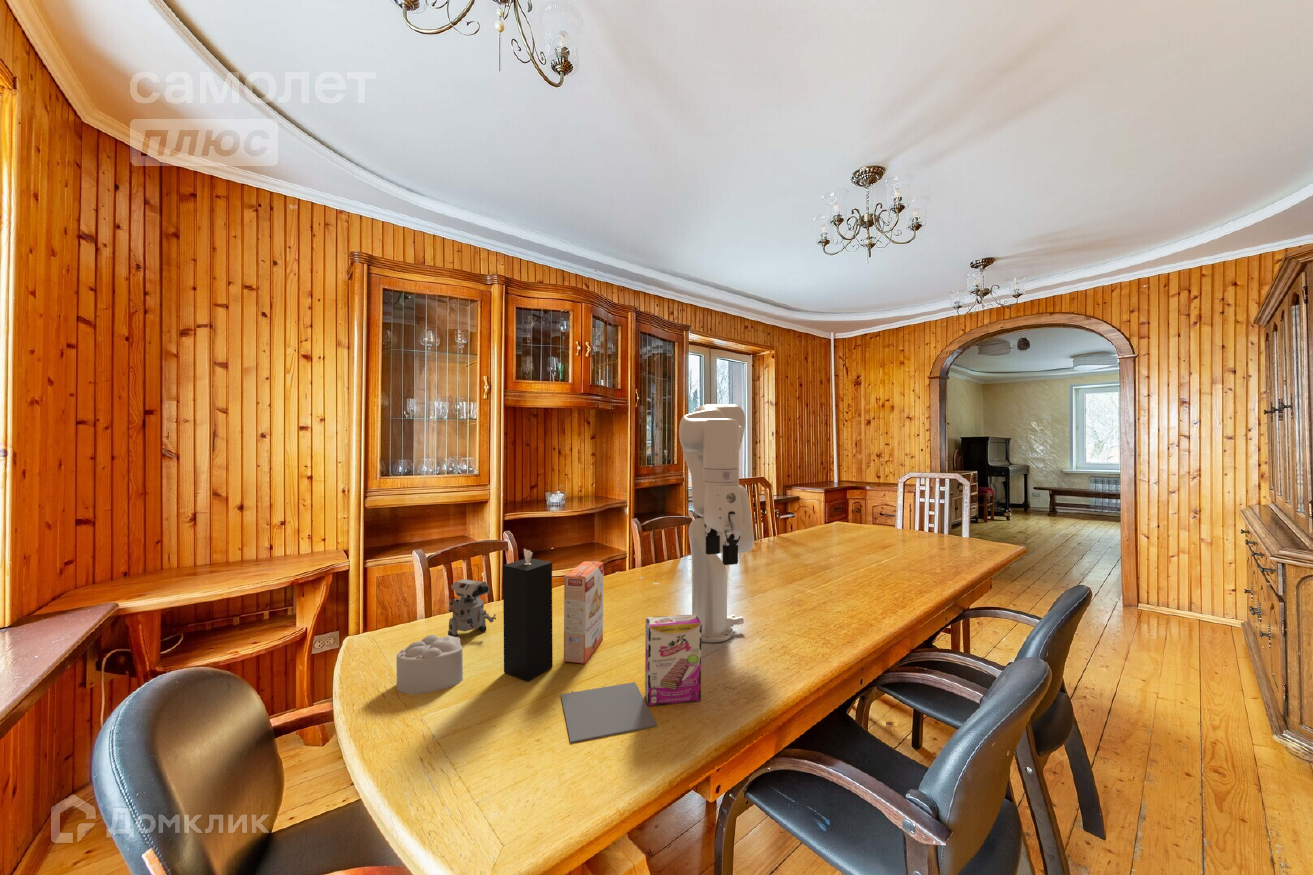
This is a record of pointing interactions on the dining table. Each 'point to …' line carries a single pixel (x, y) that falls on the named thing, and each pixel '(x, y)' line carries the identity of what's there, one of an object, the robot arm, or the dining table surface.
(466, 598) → the figurine
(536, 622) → the black tall square box
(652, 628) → the candy bar box
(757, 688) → the dining table surface
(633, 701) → the felt mat
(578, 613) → the cracker box
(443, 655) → the lumpy-topped squat cylinder
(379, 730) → the dining table surface
